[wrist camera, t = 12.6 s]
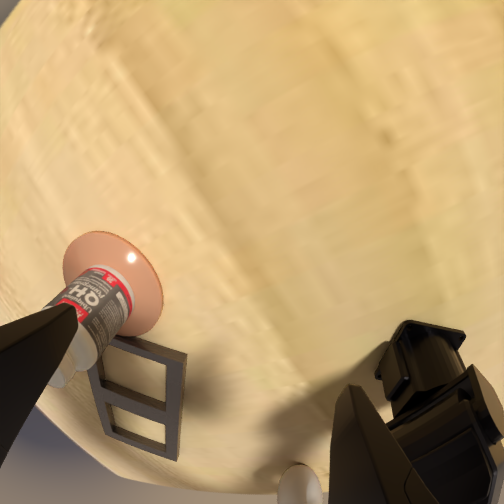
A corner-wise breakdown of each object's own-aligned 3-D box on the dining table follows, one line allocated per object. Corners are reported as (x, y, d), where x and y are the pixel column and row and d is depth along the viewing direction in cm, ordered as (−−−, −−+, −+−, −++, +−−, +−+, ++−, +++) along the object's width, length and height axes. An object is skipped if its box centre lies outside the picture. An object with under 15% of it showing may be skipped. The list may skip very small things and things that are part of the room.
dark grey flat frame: (187, 354, 27) (183, 363, 26) (179, 455, 37) (176, 461, 36) (84, 317, 28) (77, 324, 27) (108, 428, 37) (105, 434, 36)
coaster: (167, 248, 23) (164, 252, 22) (161, 345, 27) (159, 350, 27) (62, 219, 23) (58, 222, 23) (72, 312, 28) (69, 315, 27)
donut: (327, 478, 35) (324, 539, 26) (304, 481, 36) (298, 541, 27) (304, 449, 32) (297, 523, 23) (277, 453, 33) (266, 524, 24)
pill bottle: (125, 260, 23) (48, 338, 14) (145, 317, 25) (88, 403, 17) (75, 263, 24) (1, 330, 15) (96, 316, 26) (37, 388, 18)
